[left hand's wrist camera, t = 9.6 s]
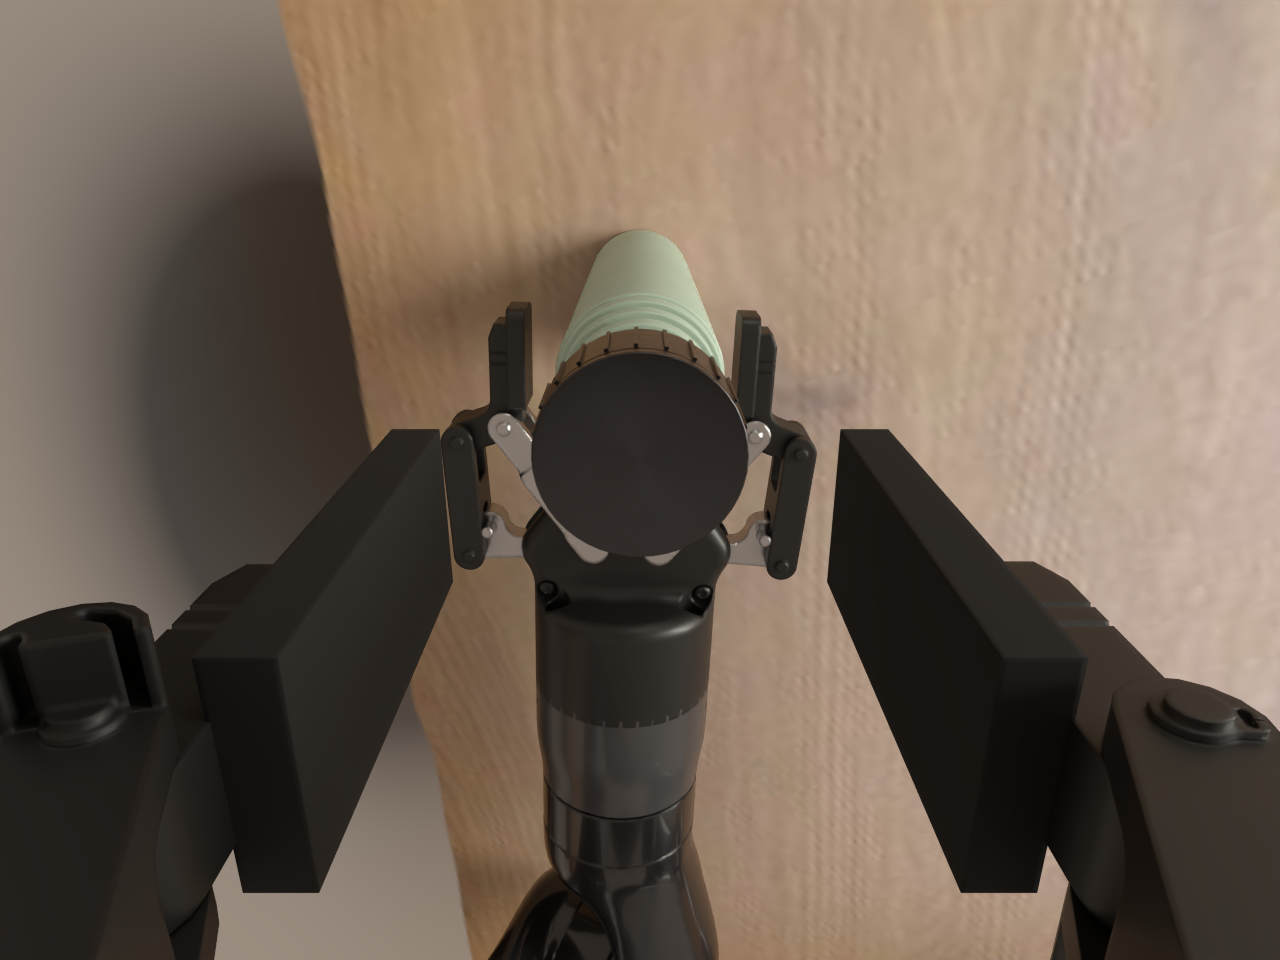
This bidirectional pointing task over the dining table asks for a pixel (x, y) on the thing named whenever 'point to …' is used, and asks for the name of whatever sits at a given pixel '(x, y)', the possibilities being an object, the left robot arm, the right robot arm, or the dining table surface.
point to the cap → (639, 444)
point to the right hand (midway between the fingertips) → (633, 309)
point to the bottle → (640, 295)
